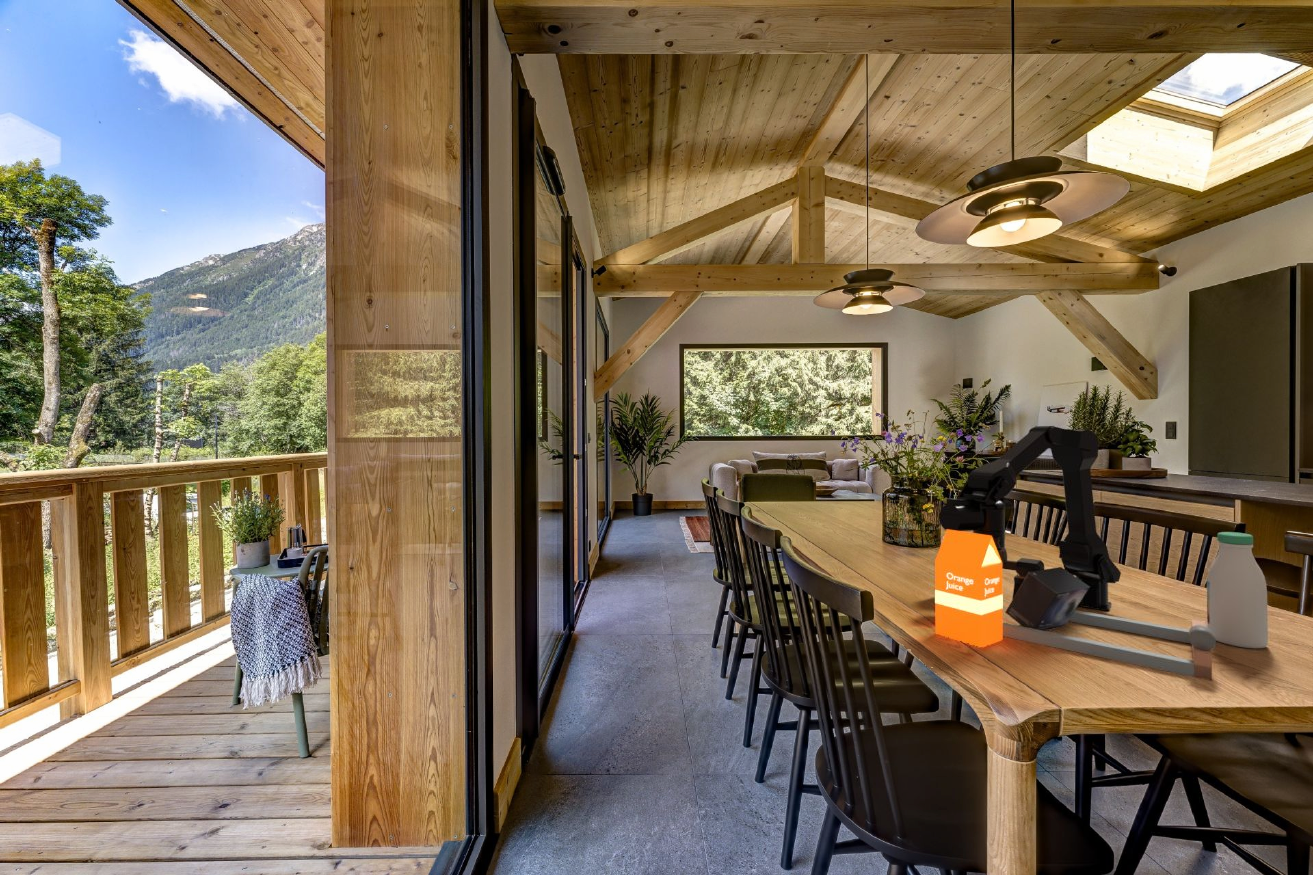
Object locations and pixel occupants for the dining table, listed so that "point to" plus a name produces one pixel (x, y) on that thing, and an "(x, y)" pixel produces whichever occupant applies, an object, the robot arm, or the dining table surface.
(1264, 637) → the milk bottle
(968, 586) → the orange juice
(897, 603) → the dining table surface
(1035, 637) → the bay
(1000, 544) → the robot arm
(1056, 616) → the small box
